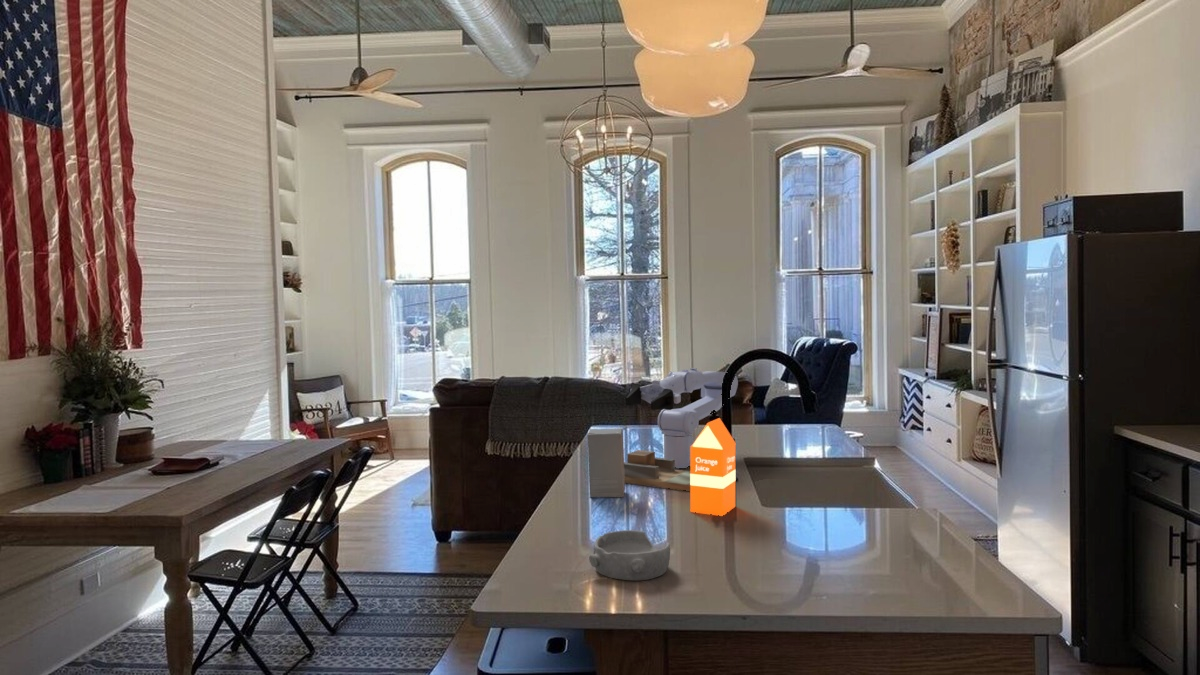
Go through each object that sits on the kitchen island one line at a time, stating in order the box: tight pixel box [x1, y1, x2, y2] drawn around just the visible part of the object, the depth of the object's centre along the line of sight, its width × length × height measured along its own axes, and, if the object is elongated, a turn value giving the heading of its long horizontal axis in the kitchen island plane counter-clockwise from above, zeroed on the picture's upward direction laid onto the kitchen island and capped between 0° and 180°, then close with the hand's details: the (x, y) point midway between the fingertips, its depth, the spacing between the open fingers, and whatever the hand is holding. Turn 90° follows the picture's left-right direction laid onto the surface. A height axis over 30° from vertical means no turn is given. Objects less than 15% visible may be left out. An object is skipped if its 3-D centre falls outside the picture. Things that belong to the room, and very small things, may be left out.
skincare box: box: [586, 427, 626, 498], centre depth 188 cm, size 8×7×16 cm
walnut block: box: [626, 449, 656, 466], centre depth 206 cm, size 6×5×5 cm
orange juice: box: [689, 417, 737, 517], centre depth 175 cm, size 8×9×20 cm
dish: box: [588, 529, 671, 581], centre depth 138 cm, size 14×14×5 cm
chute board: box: [624, 456, 690, 492], centre depth 204 cm, size 14×24×4 cm, turn 60°
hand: (639, 403), depth 203 cm, fingers open, 7 cm apart
